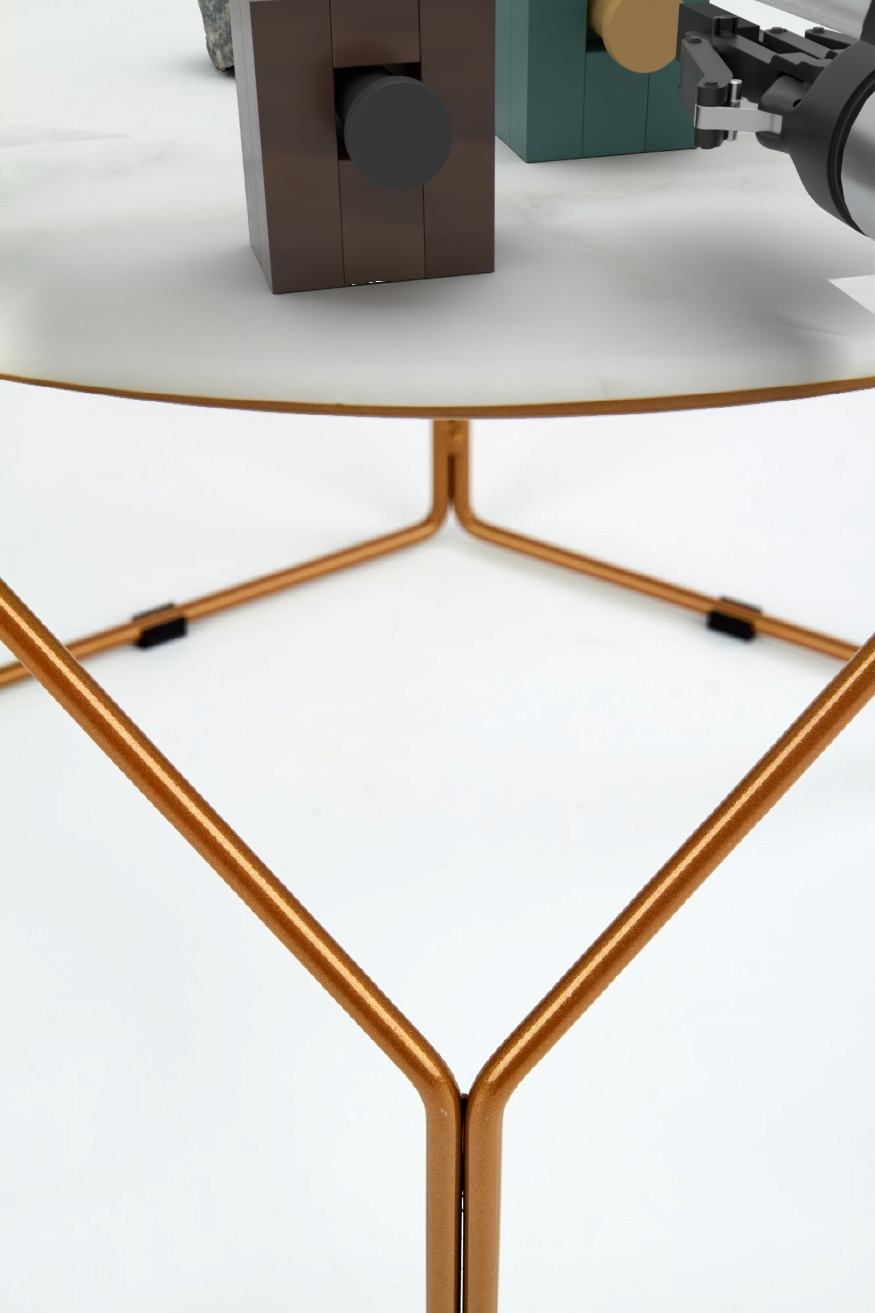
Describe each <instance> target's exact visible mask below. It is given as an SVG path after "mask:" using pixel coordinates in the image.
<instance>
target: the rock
mask: <svg viewBox="0 0 875 1313" xmlns="http://www.w3.org/2000/svg"><path fill="white" fill-rule="evenodd" d="M197 4H198V8H199V10H200V14H201V17H202V23H203V31H204V33H205V47H206V51H207V53H208V56H209V58H210V60H211V63H212V65H213V66H214V68H218V69H219V70H220V71H225V70H226V69H227V68H230V67H232V66H234V55H233V43H232V32H231V20H230V9H229V0H197Z"/></svg>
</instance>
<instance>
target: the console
mask: <svg viewBox="0 0 875 1313" xmlns="http://www.w3.org/2000/svg"><path fill="white" fill-rule="evenodd" d="M682 1H683V3H692V2H709V3H711V2H710V0H682ZM586 22H587V0H496V34H495V136H497V137H498V138H499V139H500V140H501V141H502V142H504V143H505V144H506V145H507V146H508V147H509V148H510V149H511V150H512V151H513V152H515V154H517V156H519V157H520V158H521V159H522V161H524V162H525V163H537V162H547V161H548V162H549V161H560V160H572V159H581V158H594V157H604V156H606V157H607V156H616V155H617V156H618V155H629V154H640V153H651V152H652V153H653V152H665V151H674V150H686V149H697V148H699V147H696V146H694V145H692V144H693V130H694V122H693V120H692V118H691V117H690V115H689V113H688V112H687V110H686V108H685V107H684V105H683V103H682V101H681V100H680V98H679V96H678V86H679V84H678V83H679V69H680V62H679V61H677V60H675V59H676V57H675V58H674V59H673V60H672V61H671V62H670V63H669V64H667V65H666V66H664V67H663V68H661V69H659V70H657V71H653V72H649V73H638V72H634V71H631V70H629V69H627V68H625V67H623V66H622V65H620V64H619V63H617V62H616V61H615V60H614V59H613V58H612V57H611V56H610V54H609V53H608V51H607V49H606V47H605V44H604V41H603V38H601V37H600V36H598V35H596V34H595V33H593V32H591V31H590V30H589V29H588V28H587V27H586Z"/></svg>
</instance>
